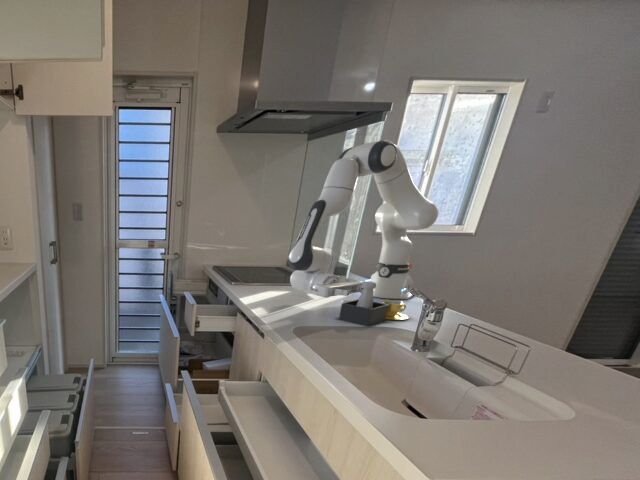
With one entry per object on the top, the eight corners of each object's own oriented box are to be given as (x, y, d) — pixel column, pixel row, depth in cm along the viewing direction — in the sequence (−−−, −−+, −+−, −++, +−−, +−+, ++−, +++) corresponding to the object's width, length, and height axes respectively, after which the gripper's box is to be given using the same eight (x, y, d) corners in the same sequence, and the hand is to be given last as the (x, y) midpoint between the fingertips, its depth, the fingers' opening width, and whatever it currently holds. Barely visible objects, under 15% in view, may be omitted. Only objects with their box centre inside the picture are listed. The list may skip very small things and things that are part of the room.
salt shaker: (355, 314, 152) (362, 279, 147) (372, 317, 149) (380, 281, 144) (351, 318, 148) (358, 281, 143) (368, 320, 145) (377, 283, 139)
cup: (382, 321, 147) (386, 306, 145) (365, 312, 158) (368, 298, 156) (415, 320, 147) (420, 305, 145) (396, 312, 158) (399, 298, 155)
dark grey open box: (356, 314, 156) (359, 299, 153) (385, 320, 148) (389, 304, 145) (338, 319, 150) (341, 303, 148) (368, 325, 142) (371, 309, 140)
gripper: (307, 279, 155) (338, 286, 143) (345, 275, 162) (377, 280, 151) (305, 296, 157) (335, 303, 146) (342, 291, 165) (373, 297, 154)
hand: (357, 292), depth 148 cm, fingers open, 8 cm apart
